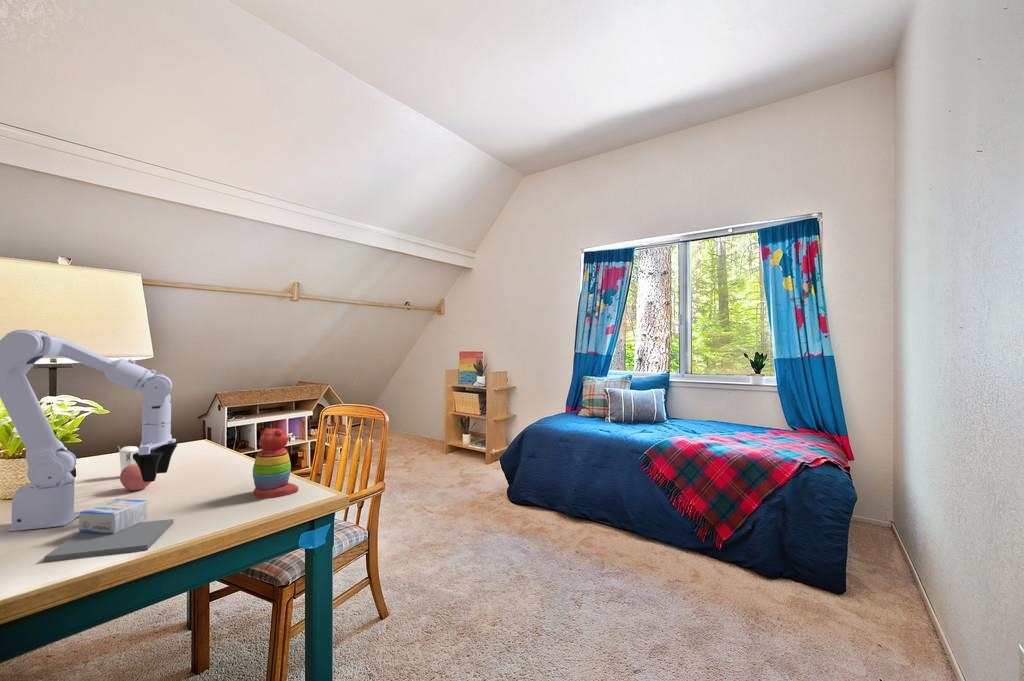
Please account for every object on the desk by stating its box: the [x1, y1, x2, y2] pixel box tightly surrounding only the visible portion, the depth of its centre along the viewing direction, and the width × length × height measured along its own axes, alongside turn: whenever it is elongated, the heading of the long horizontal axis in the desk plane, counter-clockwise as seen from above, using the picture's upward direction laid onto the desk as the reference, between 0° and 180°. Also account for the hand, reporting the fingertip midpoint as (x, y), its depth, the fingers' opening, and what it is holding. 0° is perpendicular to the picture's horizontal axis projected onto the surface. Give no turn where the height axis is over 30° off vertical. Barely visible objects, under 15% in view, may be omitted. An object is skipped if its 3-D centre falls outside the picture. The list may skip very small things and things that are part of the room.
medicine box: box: [78, 498, 149, 534], centre depth 99 cm, size 8×4×9 cm
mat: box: [43, 518, 174, 563], centre depth 94 cm, size 16×14×1 cm
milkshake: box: [117, 445, 139, 473], centre depth 138 cm, size 4×5×10 cm
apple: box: [119, 463, 152, 491], centre depth 127 cm, size 7×7×8 cm
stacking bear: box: [252, 427, 300, 499], centre depth 126 cm, size 11×10×18 cm
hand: (155, 477), depth 114 cm, fingers open, 7 cm apart
